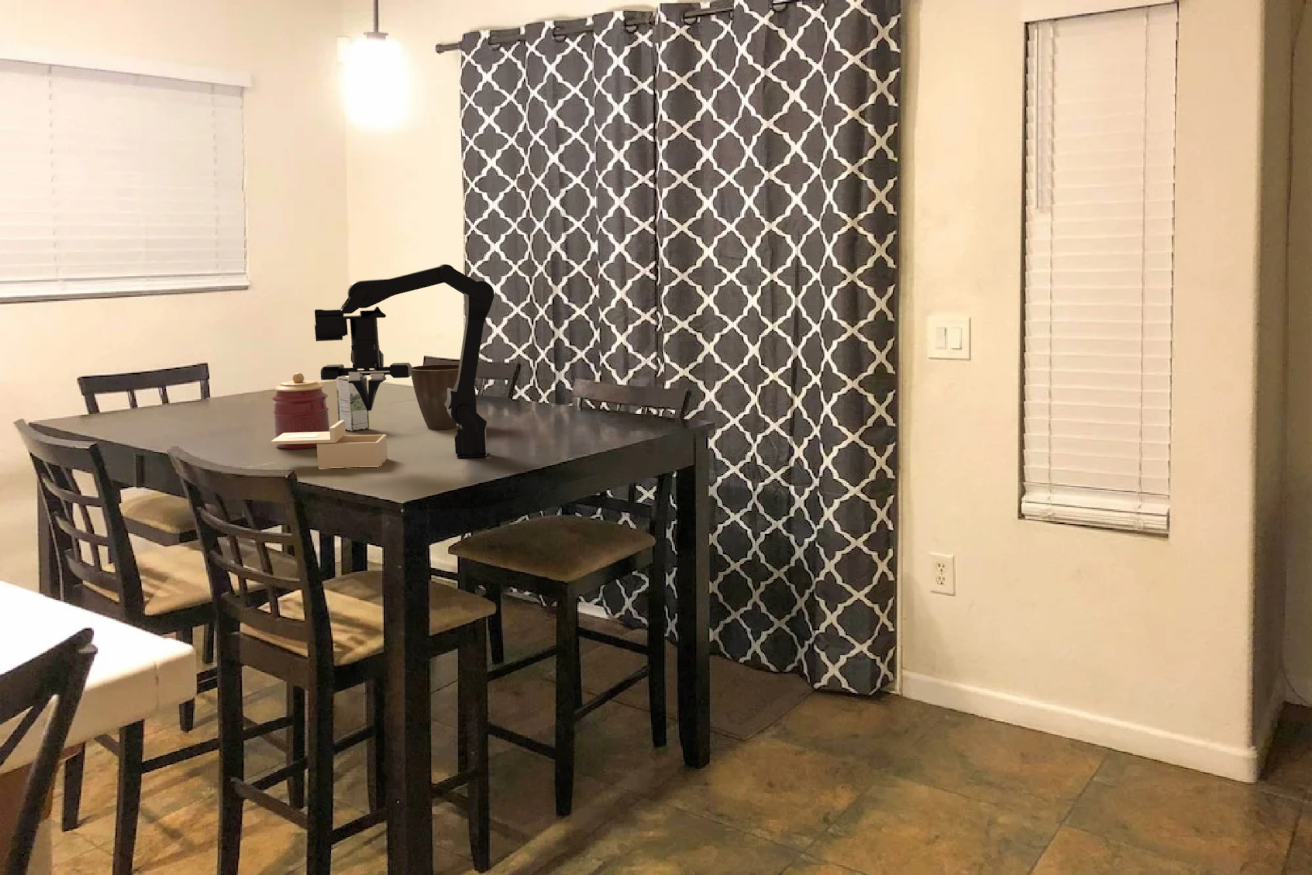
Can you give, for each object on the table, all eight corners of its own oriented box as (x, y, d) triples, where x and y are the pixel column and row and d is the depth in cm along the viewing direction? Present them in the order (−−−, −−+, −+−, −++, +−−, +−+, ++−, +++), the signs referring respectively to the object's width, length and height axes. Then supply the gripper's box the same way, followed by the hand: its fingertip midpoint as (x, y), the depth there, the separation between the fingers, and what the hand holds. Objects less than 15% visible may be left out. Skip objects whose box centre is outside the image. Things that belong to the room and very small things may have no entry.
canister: (263, 448, 264) (257, 375, 261) (298, 439, 276) (293, 369, 273) (308, 450, 259) (303, 376, 256) (342, 441, 271) (337, 370, 268)
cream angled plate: (345, 434, 247) (344, 420, 246) (335, 442, 236) (334, 427, 236) (283, 436, 246) (282, 421, 245) (270, 444, 235) (269, 429, 235)
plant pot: (424, 422, 297) (421, 363, 294) (478, 422, 295) (475, 363, 292) (405, 432, 283) (401, 370, 280) (460, 432, 281) (457, 370, 278)
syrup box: (356, 426, 293) (353, 372, 290) (370, 428, 289) (366, 374, 286) (338, 429, 288) (334, 375, 286) (352, 432, 285) (348, 376, 282)
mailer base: (387, 458, 248) (386, 434, 247) (379, 467, 238) (377, 442, 237) (329, 460, 247) (327, 436, 246) (318, 469, 237) (316, 444, 236)
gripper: (414, 335, 246) (418, 404, 249) (329, 337, 245) (334, 406, 248) (406, 339, 235) (410, 411, 238) (317, 341, 234) (322, 414, 237)
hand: (369, 410), depth 241 cm, fingers closed
